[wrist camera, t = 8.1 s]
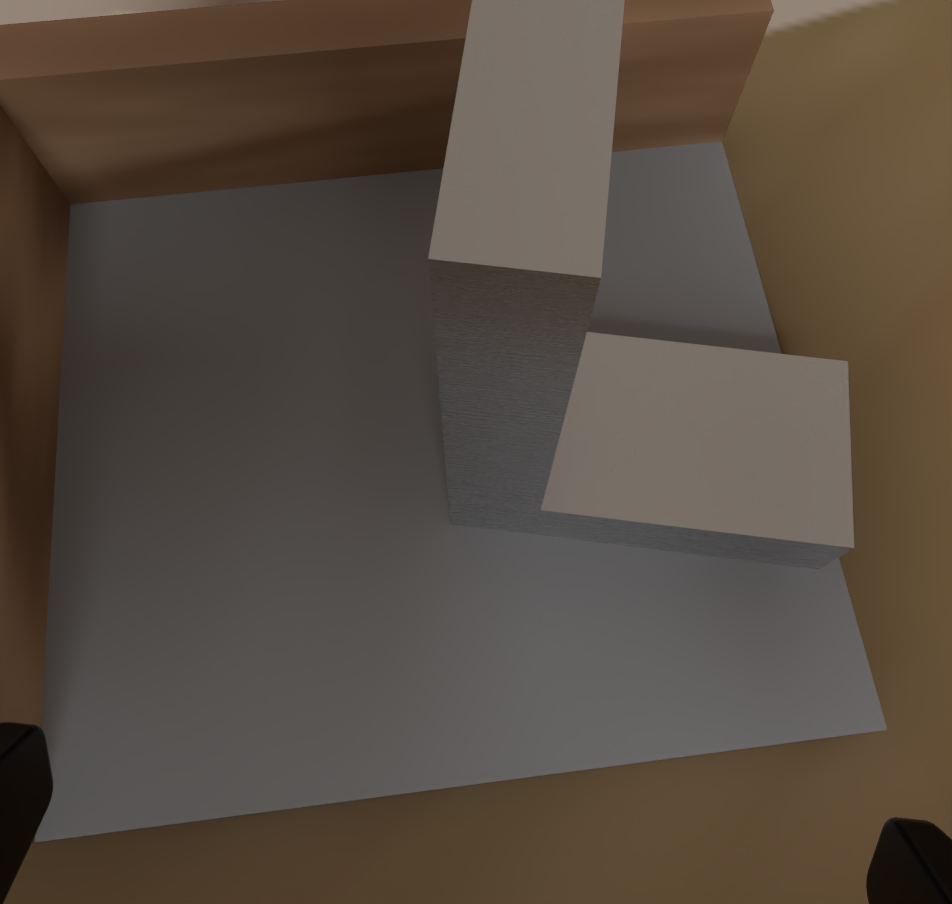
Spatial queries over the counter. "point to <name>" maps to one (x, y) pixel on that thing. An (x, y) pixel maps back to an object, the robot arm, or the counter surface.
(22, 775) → the robot arm
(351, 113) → the walls
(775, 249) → the counter surface
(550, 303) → the bracket
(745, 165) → the counter surface
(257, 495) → the mat
